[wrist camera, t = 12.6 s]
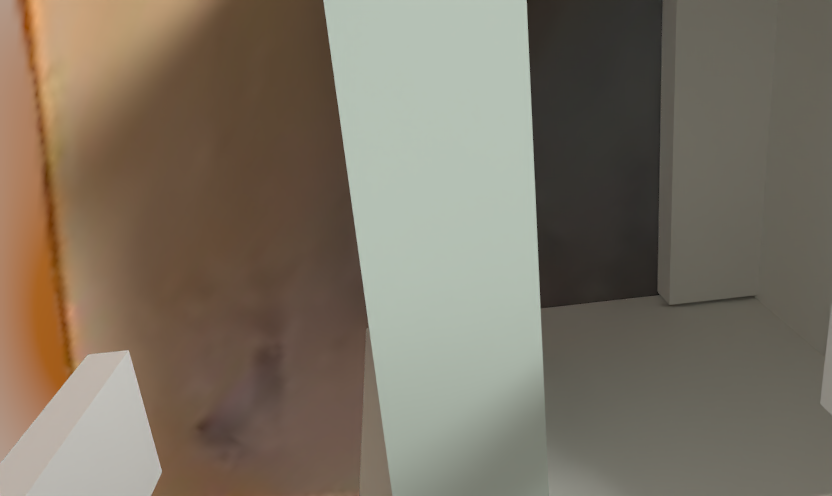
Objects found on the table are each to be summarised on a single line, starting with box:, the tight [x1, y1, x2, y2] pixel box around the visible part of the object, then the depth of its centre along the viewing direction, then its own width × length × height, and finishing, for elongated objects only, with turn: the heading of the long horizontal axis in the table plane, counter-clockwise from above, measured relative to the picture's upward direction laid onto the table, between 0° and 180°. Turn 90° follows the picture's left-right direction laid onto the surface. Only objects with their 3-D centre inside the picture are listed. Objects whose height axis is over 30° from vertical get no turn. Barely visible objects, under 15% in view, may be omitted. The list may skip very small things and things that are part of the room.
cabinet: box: [359, 0, 832, 496], centre depth 22 cm, size 19×20×20 cm
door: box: [323, 0, 549, 496], centre depth 22 cm, size 4×20×12 cm, turn 6°
